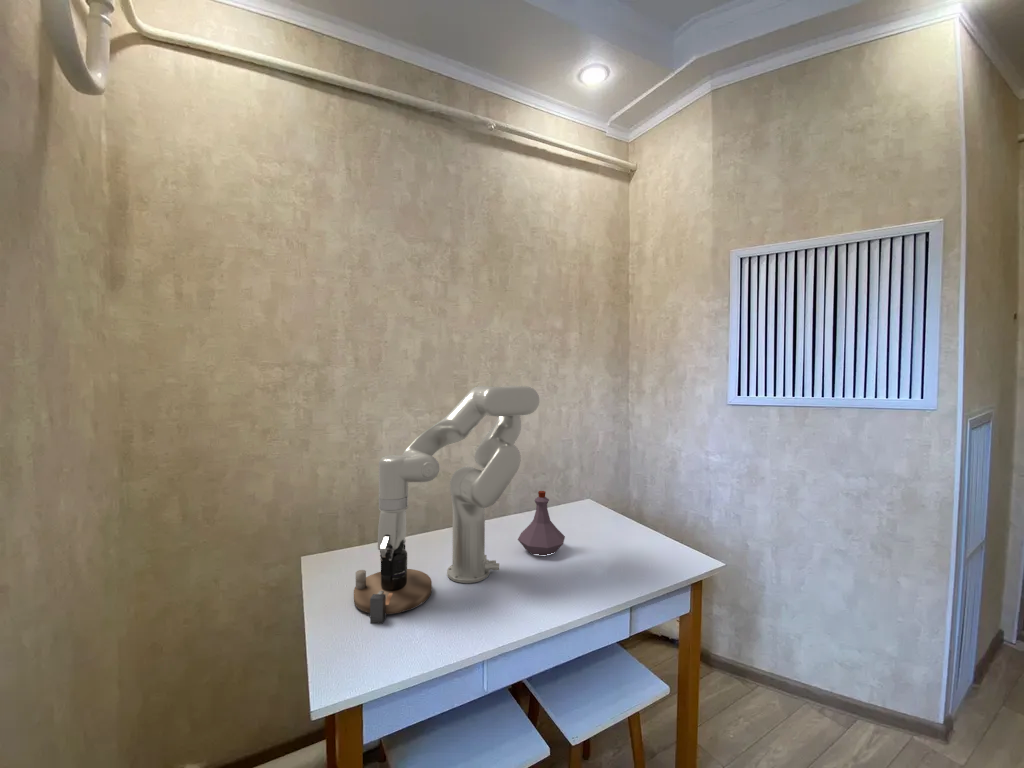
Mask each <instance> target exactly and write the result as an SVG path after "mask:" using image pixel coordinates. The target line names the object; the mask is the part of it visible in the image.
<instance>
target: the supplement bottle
mask: <svg viewBox="0 0 1024 768" xmlns="http://www.w3.org/2000/svg"><path fill="white" fill-rule="evenodd" d="M387 547H392V546H387ZM387 553H389V555H390V551H387ZM392 559H394V574H393V576H382V575H381V587H382V588H383V589H384V590H387V591H395V590H399V589H402V588H403V587H405V585H406V584H407V569H408V551H407V550H406V548H405V549H404V540H402V542H401V543H400V546H399V547H398V548H397V549H396V550H394V554H393V558H392Z"/></svg>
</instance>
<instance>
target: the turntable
mask: <svg viewBox="0 0 1024 768" xmlns="http://www.w3.org/2000/svg"><path fill="white" fill-rule="evenodd" d="M432 588H433V581H432V579H431V577H430V575H428V574H427V573H425V572H423V571H421V570H417V569H412V568H407V584H406V585H405V587H403V588H402V589H399V590H395V591H387V590H384V589H383V588H382V587H381V571H378V572H375V573H372V574H370V575H368V576H367V570H365V569H359V570H356V571H355V587H354V589H353V604H354V605H355V607H356V608H357V609H359V610H361V611H362V612H365V613H368V614H370V598H371V597H372V595H373V594H378V593H379V591H384V594H386V615H393V614H399V613H403V612H407V611H410V610H412V609H414V608H417V607H419V606H420V605H423V603H425V602H426V601H427V600H428V599H429V598H430V597H431V594H432V591H433V590H432Z"/></svg>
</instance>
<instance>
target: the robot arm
mask: <svg viewBox="0 0 1024 768" xmlns="http://www.w3.org/2000/svg"><path fill="white" fill-rule="evenodd" d="M539 404H540V396H539V393H538V391H536V390H535V389H534V388H533V387H532V386H526V385H524V386H523V385H504V386H489V385H488V386H487V385H478V386H475V387H472V388H471V389H470V390H469V391H468V392H467V393H466V394H465V395H464V397H463V398H461V400H459V402H458V403H457V404H456V405H455V406H454V407H453V408H452V409H451V410H450V411H449V413H447V415H446V416H445V417H444V418H443V419H440V421H438V422H436V423H435V424H434V425H432V426H431V427H429V428H428V429H426V430H425V431H423V432H421V434H419V435H418V436H417V437H416V438H415V439H414V440H413V441H412V442H411V444H410V445H409V446H408V447H406V449H405V450H404V452H402V454H400V455H399V454H394V455H393V454H392V455H391V454H390V455H386V456H383V457H381V458H380V459H379V461H378V510H379V511H380V512H379V516H378V518H379V519H378V526H377V530H378V531H377V550H378V551H379V552H380V553H379V557H380V559H379V560H380V572H381V575H382V576H393V574H394V559H392V558H393V554H394V550H396V549H397V548H398V547H399V546H400V543H401V542H402V540H404V549H405V550H406V541H407V540H406V537H407V512H406V511H407V509H408V508H409V483H429V482H431V481H433V480H434V479H435V478H436V477H437V476H438V475H439V473H440V464H439V461H438V459H437V458H436V457H434V455H435V454H436V453H437V452H438V451H439V450H441V449H442V448H445V447H446V446H449V445H452V444H455V443H459V442H461V441H464V440H466V439H467V437H468V436H469V435H470V434H471V433H472V432H473V431H474V429H475V428H476V427H477V426H478V425H479V424H480V422H482V421H483V419H485V417H486V416H488V417H489V416H491V417H496V420H495V421H494V424H493V425H492V427H491V428H490V430H489V431H488V433H487V434H486V435H485V437H484V438H483V440H482V441H481V442H480V444H479V445H478V446H477V448H476V449H475V452H474V456H473V457H474V461H475V463H476V464H477V465H478V466H479V467H480V468H482V470H480V469H478V468H476V467H473V466H472V467H471V466H463V467H460V468H458V469H456V470H455V471H454V472H453V473H452V476H451V478H450V481H449V491H450V496H451V504H452V505H451V506H452V507H451V508H452V562H451V563H452V564H451V565H450V566H449V567H448V568H447V569H446V577H448V579H450V580H451V581H453V582H456V583H460V584H474V583H479V582H481V581H484V580H485V579H487V578H488V577H489V575H490V573H491V571H499V570H500V563H499V562H497V560H496V559H495V560H489V559H488V557H487V554H485V548H486V545H485V544H486V543H485V539H486V538H485V537H486V536H485V531H486V528H485V526H486V524H485V523H486V511H485V509H486V508H490V507H492V506H493V505H494V504H495V503H497V501H498V500H499V499H500V497H501V496H502V495H503V493H504V492H505V490H506V489H507V487H508V486H509V484H510V483H511V481H512V480H513V479H514V477H515V476H516V474H517V472H518V470H519V469H520V465H521V461H522V460H521V459H522V457H521V452H520V450H519V448H518V447H517V446H516V445H515V443H516V442H517V440H518V438H519V437H520V434H521V430H522V418H521V416H528V415H531V414H532V413H534V412H535V411H536V410H537V409H538V407H539V406H540V405H539ZM387 546H392V547H387ZM387 551H390V555H389V553H387Z"/></svg>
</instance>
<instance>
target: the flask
mask: <svg viewBox="0 0 1024 768" xmlns="http://www.w3.org/2000/svg"><path fill="white" fill-rule="evenodd" d="M537 495H538V496H537V497H536V498H535V499H534V502H535V506H536V507H535V508H536V509H535V513H534V516H533V520H532V521H531V522H530V523H529V524H528V526H527V527H525V529H524V530H523V531H521V532H520V534H519V536H518V538H517V541H518V542H519V543H520V545H522V546H523V548H524V549H525V550H526V552H528V551H529V552H531V553H532V554H539V555H547V554H551V553H554V552H555V553H556V552H557V551H558V550H559V549H560V548H561V547H562V546H563V545H564V543H565V539H566V536H565V535H564V534H563V533H562V532H561V531H560V530H559V529H558V528H557V527H556V525H555V524H554V523H553V522H552V521H551V518H550V513H549V509H548V503H549V501H550V499H549V498H548V497H546V491H545V490H538V492H537ZM529 552H528V553H529ZM531 553H530V554H531ZM555 553H554V554H555ZM532 554H531V555H532Z"/></svg>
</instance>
